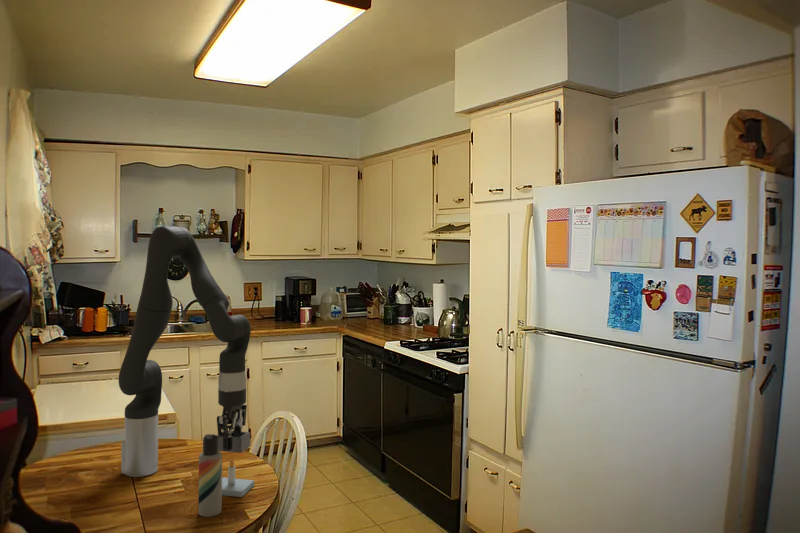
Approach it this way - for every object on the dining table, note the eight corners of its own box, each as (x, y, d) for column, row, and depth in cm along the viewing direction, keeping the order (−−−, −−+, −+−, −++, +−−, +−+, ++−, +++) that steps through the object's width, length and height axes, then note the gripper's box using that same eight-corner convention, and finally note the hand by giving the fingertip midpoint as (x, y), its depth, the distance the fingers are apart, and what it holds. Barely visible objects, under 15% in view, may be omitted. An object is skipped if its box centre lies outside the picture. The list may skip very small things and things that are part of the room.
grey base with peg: (208, 493, 163) (208, 465, 163) (221, 482, 171) (221, 455, 171) (241, 497, 161) (242, 468, 161) (254, 485, 169) (254, 457, 169)
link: (214, 450, 164) (214, 436, 164) (223, 444, 169) (223, 430, 169) (241, 452, 162) (241, 438, 162) (250, 446, 168) (250, 432, 168)
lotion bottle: (201, 507, 155) (202, 431, 154) (223, 507, 155) (224, 431, 154) (195, 517, 149) (196, 439, 148) (218, 517, 149) (219, 438, 149)
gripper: (231, 380, 173) (231, 437, 174) (207, 392, 159) (207, 454, 159) (255, 381, 172) (255, 439, 172) (233, 393, 158) (233, 456, 158)
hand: (232, 446), depth 166 cm, fingers closed on link, 5 cm apart
